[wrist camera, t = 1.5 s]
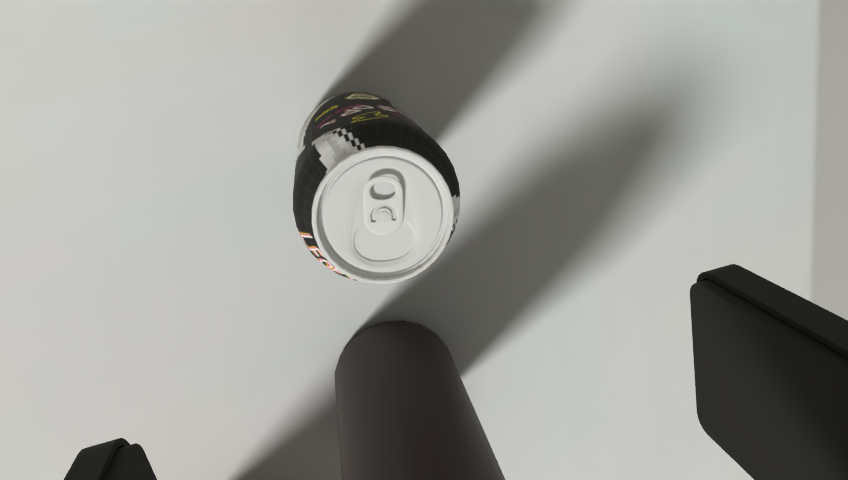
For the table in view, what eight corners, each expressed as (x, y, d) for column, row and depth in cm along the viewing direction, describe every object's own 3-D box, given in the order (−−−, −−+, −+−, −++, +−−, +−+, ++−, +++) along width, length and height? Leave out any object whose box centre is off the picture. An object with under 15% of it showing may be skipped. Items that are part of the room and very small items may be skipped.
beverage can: (410, 87, 29) (473, 122, 18) (415, 199, 31) (473, 293, 20) (291, 93, 28) (281, 133, 17) (303, 208, 30) (301, 311, 19)
